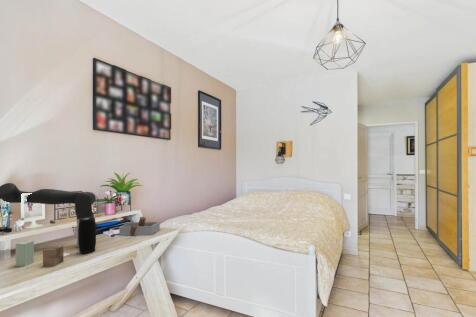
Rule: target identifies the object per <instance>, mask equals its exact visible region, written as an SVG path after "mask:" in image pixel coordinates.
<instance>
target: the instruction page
mask: <svg viewBox="0 0 476 317" xmlns="http://www.w3.org/2000/svg"><path fill="white" fill-rule="evenodd" d="M71 254H72V253H71V252H63V258H66V257H67V256H69V255H71ZM40 260H43V257H41V258H40Z"/></svg>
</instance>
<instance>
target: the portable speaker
mask: <svg viewBox="0 0 476 317" xmlns="http://www.w3.org/2000/svg"><path fill="white" fill-rule="evenodd" d="M78 243H79V245H78V246H79V247H78V251H79V253H80V254H82V255H84V254H85V255H86V254H89V253H90V252H95V251H96V245H97V225H96V217H91V216H89V217H85V218H80V221H79V227H78Z"/></svg>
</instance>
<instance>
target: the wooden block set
mask: <svg viewBox="0 0 476 317" xmlns="http://www.w3.org/2000/svg"><path fill="white" fill-rule="evenodd" d="M138 222H139V224H138V225H137V224H135V225H133V226H131V230H130V234H131V235H130V236H135V235H134V233H135V231H136V228H137V227H141V226H144V224H145V222H146V217H144V216H140V217H139V220H138ZM148 226H150V225H148Z"/></svg>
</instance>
